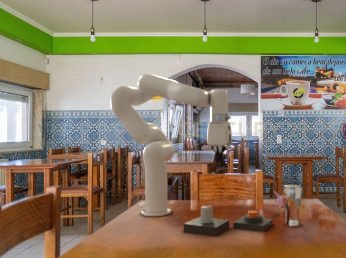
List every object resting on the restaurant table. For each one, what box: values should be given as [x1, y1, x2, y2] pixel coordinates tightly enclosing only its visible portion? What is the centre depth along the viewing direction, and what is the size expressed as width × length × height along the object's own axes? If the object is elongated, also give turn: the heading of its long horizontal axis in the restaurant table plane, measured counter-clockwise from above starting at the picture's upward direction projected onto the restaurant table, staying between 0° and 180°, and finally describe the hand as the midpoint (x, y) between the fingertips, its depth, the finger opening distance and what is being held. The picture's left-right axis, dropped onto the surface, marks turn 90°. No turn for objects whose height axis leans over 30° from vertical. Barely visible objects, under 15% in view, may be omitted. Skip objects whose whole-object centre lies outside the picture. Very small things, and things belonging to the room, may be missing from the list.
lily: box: [273, 190, 285, 216], centre depth 153 cm, size 12×12×10 cm
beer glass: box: [282, 184, 302, 228], centre depth 136 cm, size 7×7×15 cm
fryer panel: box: [183, 216, 230, 237], centre depth 130 cm, size 13×11×3 cm
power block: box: [233, 213, 273, 233], centre depth 134 cm, size 12×10×4 cm
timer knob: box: [200, 205, 214, 223], centre depth 130 cm, size 4×4×6 cm
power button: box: [247, 210, 260, 218], centre depth 134 cm, size 4×4×2 cm
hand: (219, 162), depth 150 cm, fingers closed
